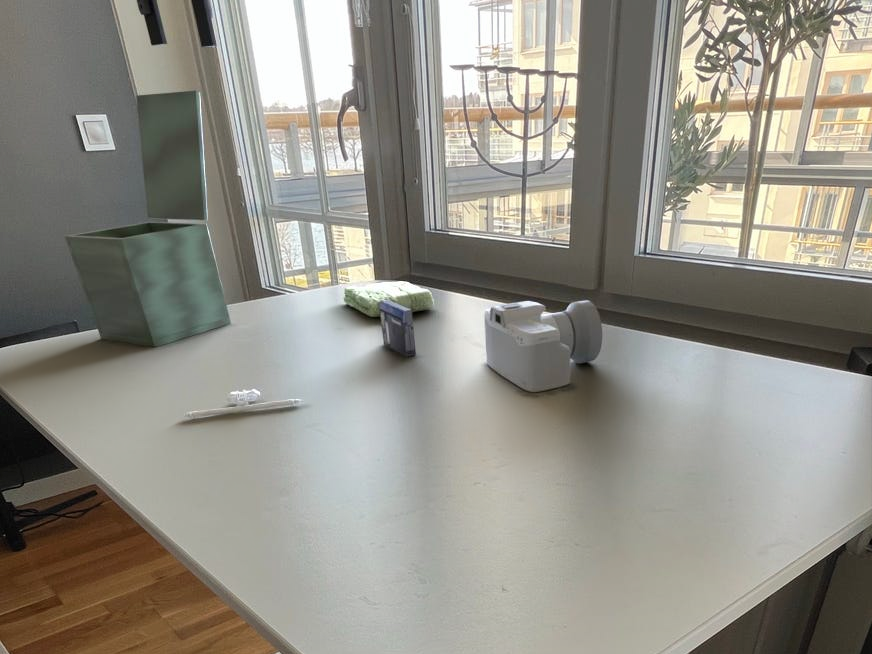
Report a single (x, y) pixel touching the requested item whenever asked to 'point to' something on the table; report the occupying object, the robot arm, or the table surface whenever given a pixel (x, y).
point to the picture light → (242, 404)
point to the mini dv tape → (397, 327)
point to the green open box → (150, 281)
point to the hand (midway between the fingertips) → (185, 45)
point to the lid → (173, 155)
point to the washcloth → (387, 297)
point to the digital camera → (540, 342)
